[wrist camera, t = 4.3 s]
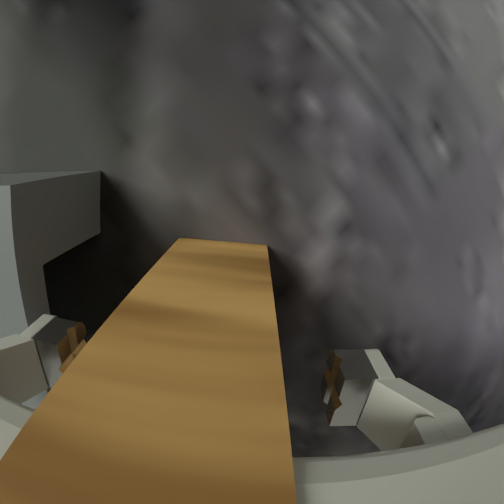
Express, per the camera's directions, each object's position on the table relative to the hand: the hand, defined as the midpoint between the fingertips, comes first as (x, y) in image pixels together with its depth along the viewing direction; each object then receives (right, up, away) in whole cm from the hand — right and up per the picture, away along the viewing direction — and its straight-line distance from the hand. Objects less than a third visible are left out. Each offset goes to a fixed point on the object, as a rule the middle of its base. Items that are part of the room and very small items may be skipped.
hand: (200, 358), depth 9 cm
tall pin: (0, +2, +6) cm, 6 cm away
